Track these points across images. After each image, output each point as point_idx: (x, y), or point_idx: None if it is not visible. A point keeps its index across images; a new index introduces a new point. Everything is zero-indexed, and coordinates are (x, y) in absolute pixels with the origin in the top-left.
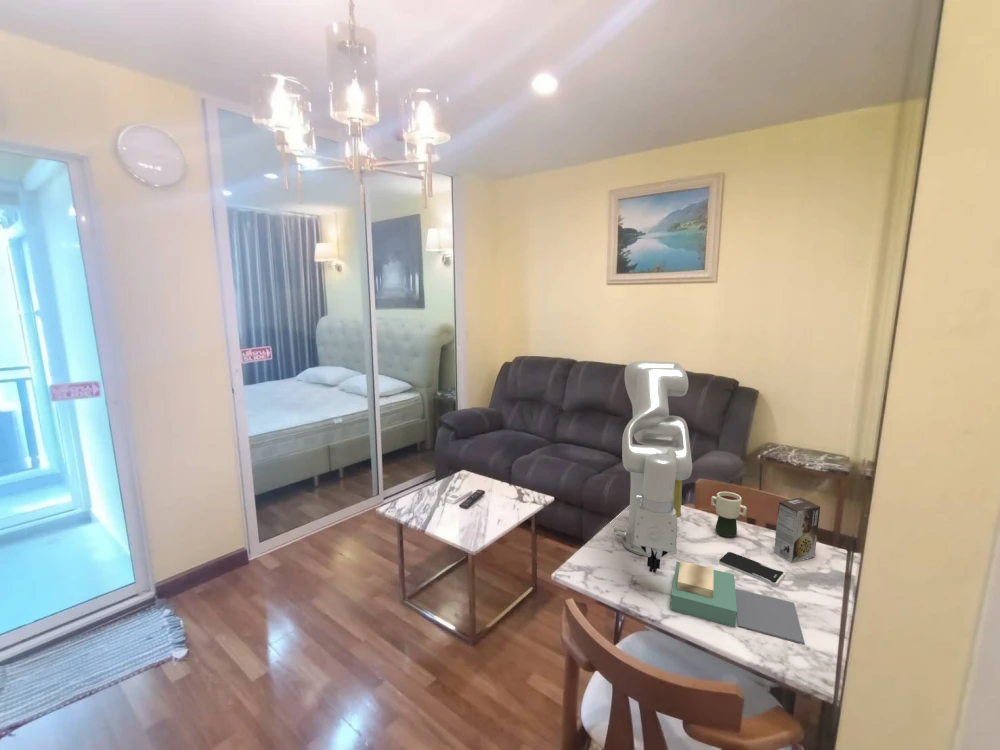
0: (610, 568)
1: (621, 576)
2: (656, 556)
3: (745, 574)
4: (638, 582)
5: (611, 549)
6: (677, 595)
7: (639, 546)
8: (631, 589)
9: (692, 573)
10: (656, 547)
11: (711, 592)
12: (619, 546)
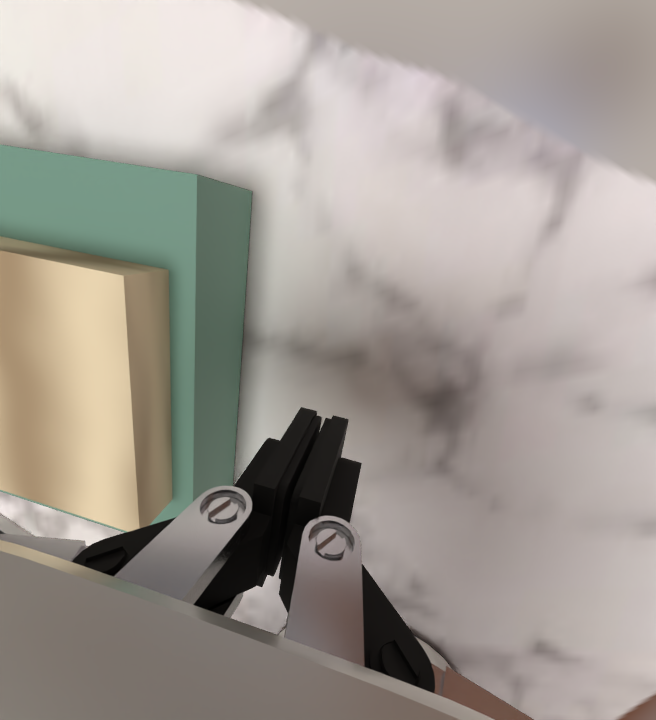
0: (574, 517)
1: (515, 452)
2: (244, 513)
3: (9, 520)
4: (416, 412)
5: (533, 663)
6: (159, 183)
7: (457, 682)
8: (468, 338)
9: (53, 409)
10: (124, 634)
11: None
12: (483, 680)
